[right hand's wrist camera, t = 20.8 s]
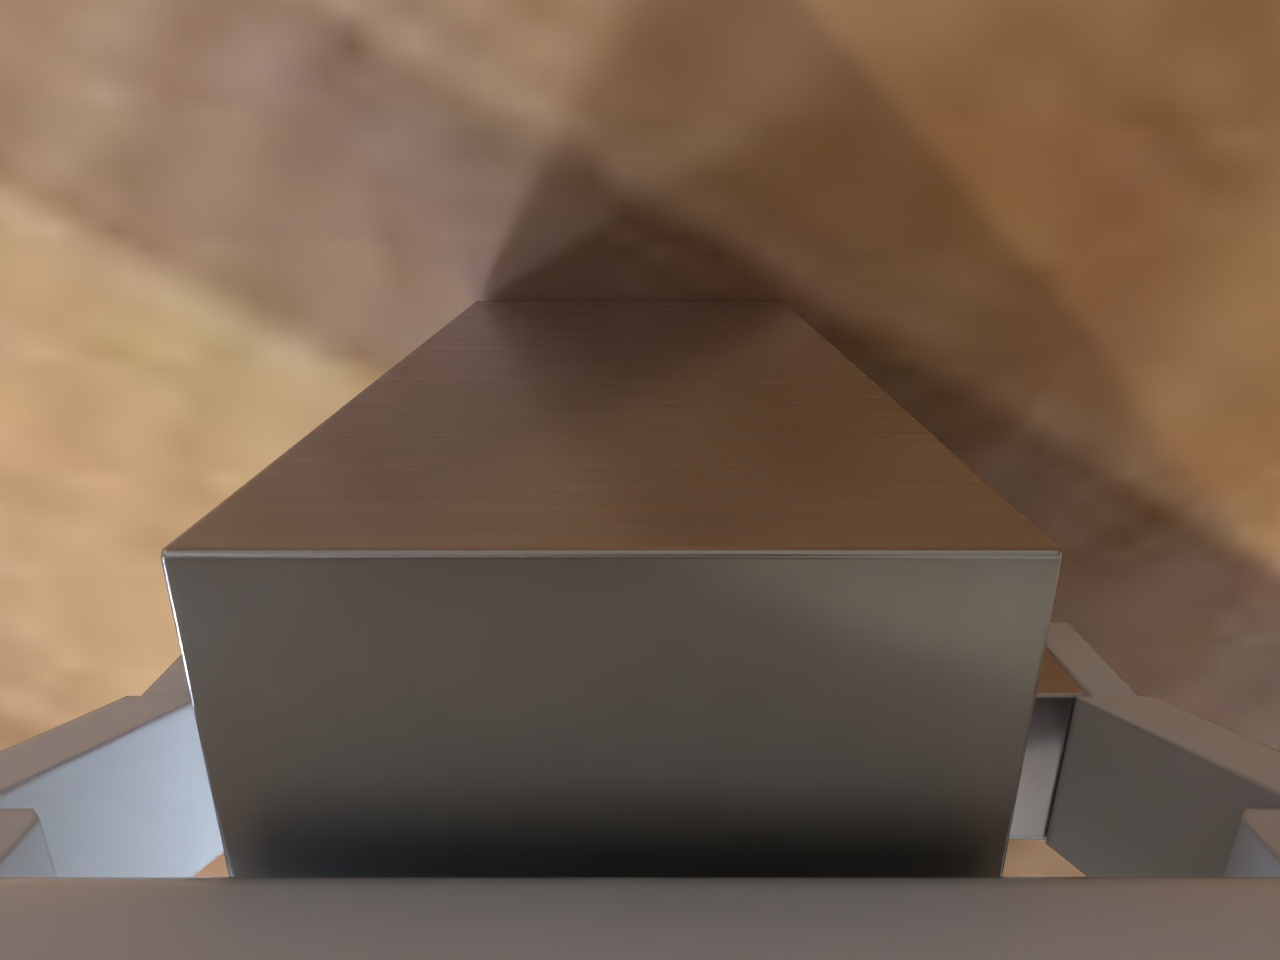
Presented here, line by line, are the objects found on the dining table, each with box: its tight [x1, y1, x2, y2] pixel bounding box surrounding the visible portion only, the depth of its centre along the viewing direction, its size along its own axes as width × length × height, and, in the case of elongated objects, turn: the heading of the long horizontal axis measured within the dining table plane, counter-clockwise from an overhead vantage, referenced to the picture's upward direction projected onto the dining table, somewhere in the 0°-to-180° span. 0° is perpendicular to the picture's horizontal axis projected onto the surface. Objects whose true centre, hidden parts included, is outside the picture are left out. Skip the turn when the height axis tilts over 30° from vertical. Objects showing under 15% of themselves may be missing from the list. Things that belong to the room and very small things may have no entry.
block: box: [161, 301, 1063, 877], centre depth 11 cm, size 5×8×10 cm, turn 0°
